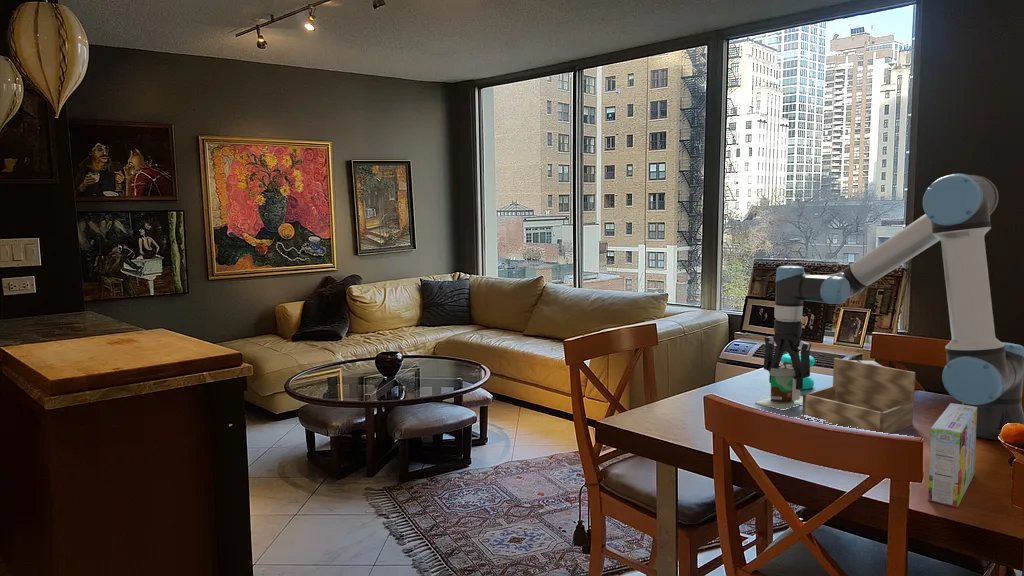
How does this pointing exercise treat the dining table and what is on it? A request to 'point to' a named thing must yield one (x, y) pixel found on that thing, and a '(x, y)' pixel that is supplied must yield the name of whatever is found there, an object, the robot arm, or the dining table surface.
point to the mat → (779, 403)
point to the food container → (782, 382)
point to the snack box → (952, 454)
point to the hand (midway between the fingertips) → (785, 397)
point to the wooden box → (864, 398)
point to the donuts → (807, 381)
